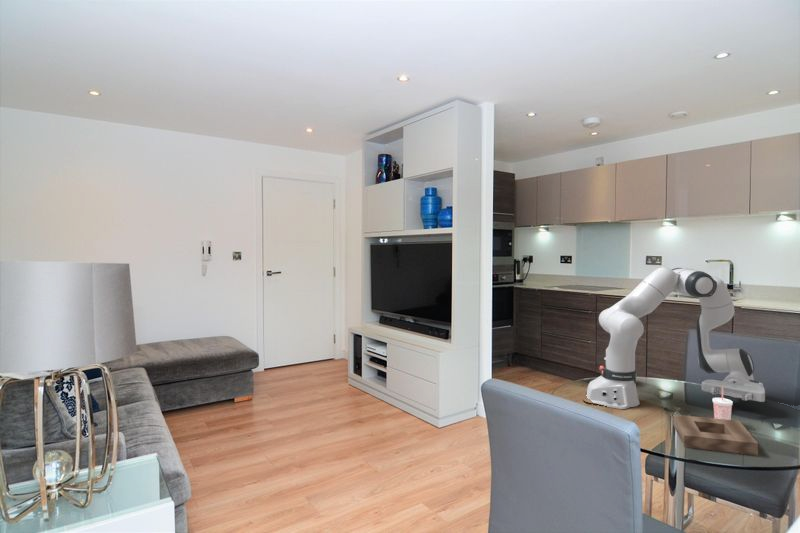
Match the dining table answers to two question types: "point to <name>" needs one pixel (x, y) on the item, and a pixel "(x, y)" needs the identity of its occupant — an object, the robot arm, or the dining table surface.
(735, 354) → the robot arm
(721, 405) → the beverage cup
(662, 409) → the dining table surface
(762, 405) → the dining table surface
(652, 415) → the dining table surface
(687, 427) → the walnut tray
